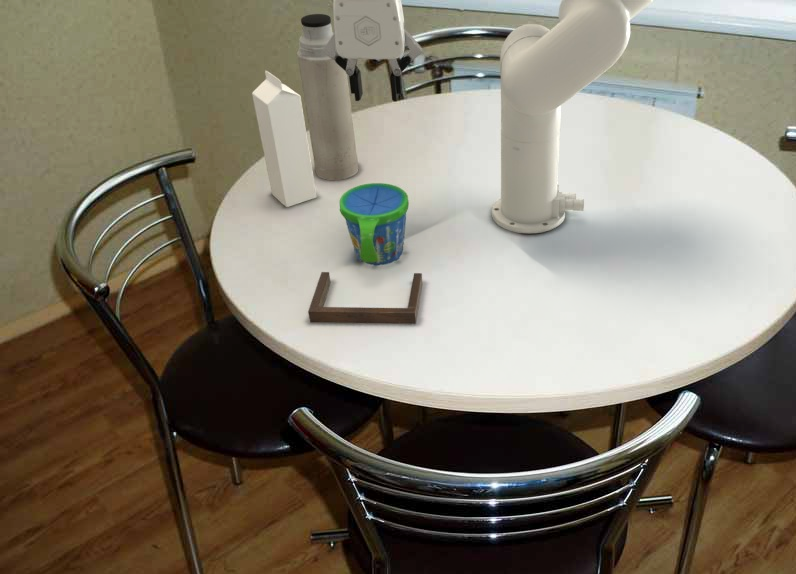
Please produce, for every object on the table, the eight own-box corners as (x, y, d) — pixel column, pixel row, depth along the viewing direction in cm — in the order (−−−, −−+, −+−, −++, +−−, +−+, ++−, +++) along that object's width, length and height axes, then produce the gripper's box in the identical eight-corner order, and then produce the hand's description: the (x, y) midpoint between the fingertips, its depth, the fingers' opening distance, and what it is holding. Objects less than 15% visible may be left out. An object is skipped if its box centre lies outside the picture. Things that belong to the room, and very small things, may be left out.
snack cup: (399, 285, 128) (393, 227, 122) (333, 279, 130) (324, 221, 123) (423, 232, 140) (419, 177, 134) (362, 227, 141) (355, 172, 135)
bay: (422, 283, 129) (421, 273, 127) (415, 324, 121) (414, 312, 120) (323, 282, 129) (321, 271, 128) (309, 322, 121) (307, 311, 120)
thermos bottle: (335, 157, 162) (314, 6, 144) (367, 167, 158) (349, 14, 140) (306, 173, 156) (281, 19, 138) (339, 184, 153) (317, 28, 135)
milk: (286, 208, 147) (262, 85, 132) (271, 194, 150) (246, 73, 136) (317, 197, 149) (297, 76, 135) (302, 184, 153) (281, 65, 139)
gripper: (299, -19, 116) (318, 107, 128) (422, -18, 116) (429, 108, 127) (310, -34, 122) (327, 88, 134) (427, -33, 121) (434, 88, 133)
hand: (377, 96), depth 130 cm, fingers open, 5 cm apart
